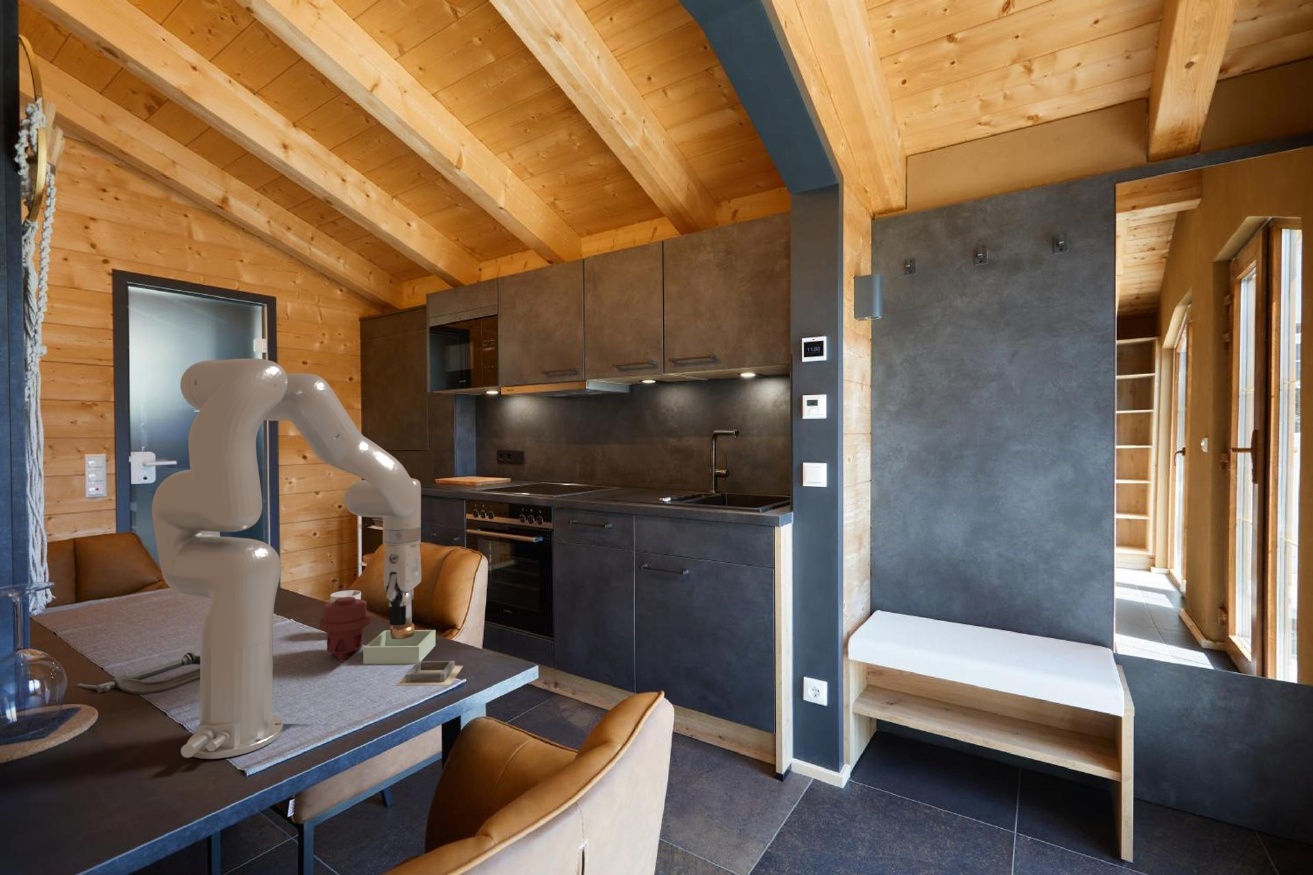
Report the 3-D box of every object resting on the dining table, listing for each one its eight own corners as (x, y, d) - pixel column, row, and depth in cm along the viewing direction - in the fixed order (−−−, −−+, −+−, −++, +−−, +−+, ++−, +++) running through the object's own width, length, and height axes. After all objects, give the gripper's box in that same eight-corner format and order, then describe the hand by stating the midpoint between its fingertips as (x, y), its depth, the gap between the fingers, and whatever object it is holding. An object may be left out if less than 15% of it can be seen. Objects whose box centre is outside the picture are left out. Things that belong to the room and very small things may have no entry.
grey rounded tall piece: (392, 640, 131) (392, 580, 131) (388, 634, 135) (387, 576, 134) (416, 636, 133) (415, 577, 133) (411, 630, 137) (410, 573, 137)
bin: (418, 669, 128) (419, 646, 128) (363, 669, 128) (363, 647, 128) (435, 650, 140) (435, 630, 140) (384, 650, 139) (384, 630, 139)
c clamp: (125, 706, 111) (126, 691, 111) (75, 689, 118) (75, 675, 118) (242, 668, 129) (242, 655, 129) (192, 656, 137) (192, 643, 137)
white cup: (366, 633, 151) (367, 592, 151) (340, 641, 145) (341, 598, 145) (350, 629, 154) (350, 588, 154) (324, 636, 149) (324, 594, 149)
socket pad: (449, 691, 118) (449, 676, 118) (395, 691, 117) (395, 677, 117) (463, 671, 128) (463, 658, 128) (413, 671, 127) (413, 658, 127)
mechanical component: (346, 666, 130) (307, 660, 133) (380, 650, 139) (344, 645, 142) (346, 606, 130) (308, 602, 133) (380, 595, 139) (344, 591, 142)
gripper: (406, 542, 126) (405, 633, 126) (431, 529, 142) (431, 610, 142) (368, 543, 125) (367, 634, 125) (398, 530, 142) (397, 610, 142)
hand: (401, 620), depth 134 cm, fingers closed on grey rounded tall piece, 3 cm apart
